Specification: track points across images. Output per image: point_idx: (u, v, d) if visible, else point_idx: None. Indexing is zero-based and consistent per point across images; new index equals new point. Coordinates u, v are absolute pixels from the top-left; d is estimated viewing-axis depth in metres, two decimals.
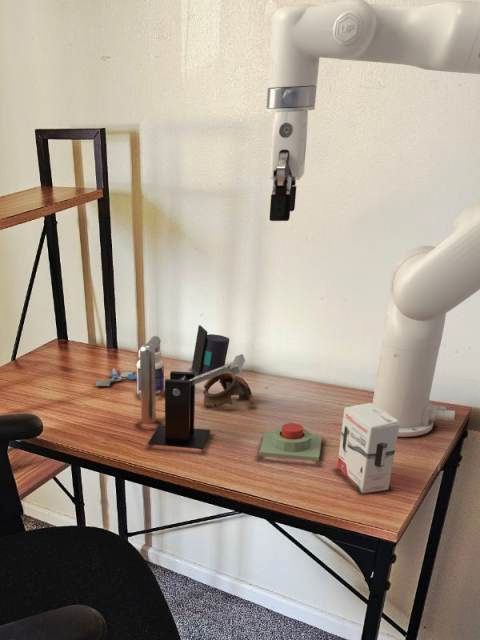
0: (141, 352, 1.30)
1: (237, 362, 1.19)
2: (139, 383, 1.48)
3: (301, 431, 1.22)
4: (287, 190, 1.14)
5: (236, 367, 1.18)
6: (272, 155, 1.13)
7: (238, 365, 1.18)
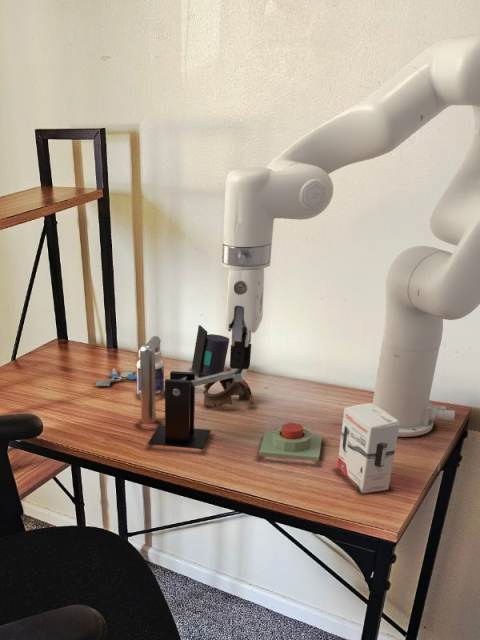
0: (141, 352, 1.30)
1: (240, 370, 1.20)
2: (139, 383, 1.48)
3: (301, 431, 1.22)
4: (246, 346, 1.17)
5: (239, 375, 1.18)
6: (227, 310, 1.12)
7: (241, 373, 1.19)
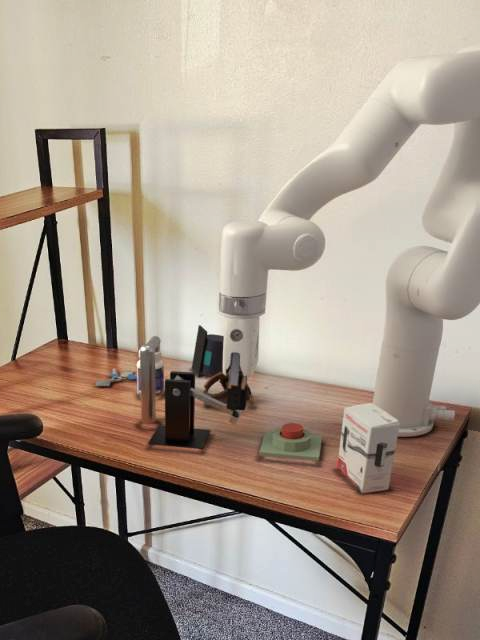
0: (141, 352, 1.30)
1: (238, 414, 1.24)
2: (139, 383, 1.48)
3: (301, 431, 1.22)
4: (242, 389, 1.21)
5: (236, 419, 1.23)
6: (224, 356, 1.16)
7: (238, 418, 1.23)
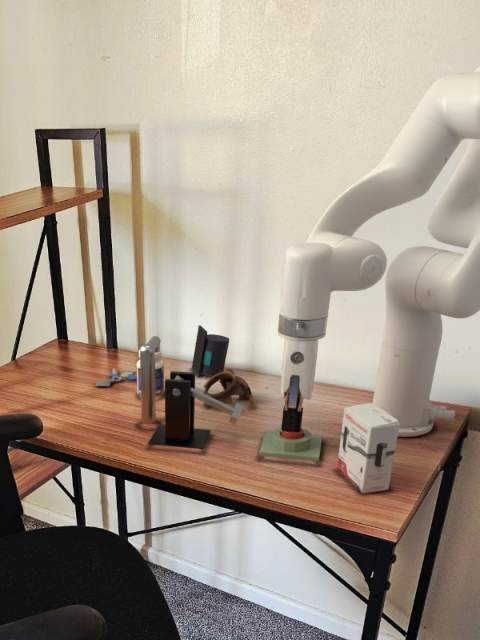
0: (141, 352, 1.30)
1: (238, 414, 1.24)
2: (139, 383, 1.48)
3: (301, 433, 1.22)
4: (298, 411, 1.19)
5: (236, 419, 1.23)
6: (283, 378, 1.14)
7: (238, 418, 1.23)
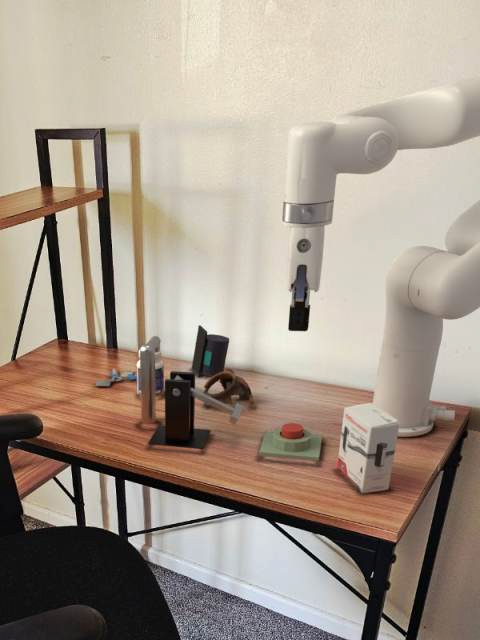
0: (141, 352, 1.30)
1: (238, 414, 1.24)
2: (139, 383, 1.48)
3: (301, 431, 1.22)
4: (306, 307, 1.15)
5: (236, 419, 1.23)
6: (289, 269, 1.10)
7: (238, 418, 1.23)
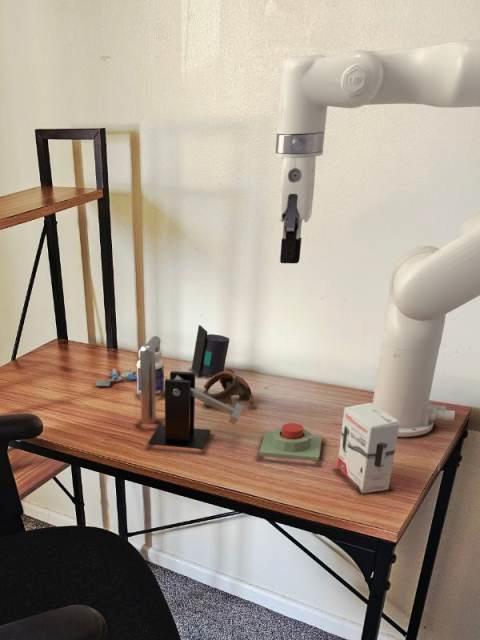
0: (141, 352, 1.30)
1: (238, 414, 1.24)
2: (139, 383, 1.48)
3: (301, 431, 1.22)
4: (297, 238, 1.21)
5: (236, 419, 1.23)
6: (281, 199, 1.16)
7: (238, 418, 1.23)
